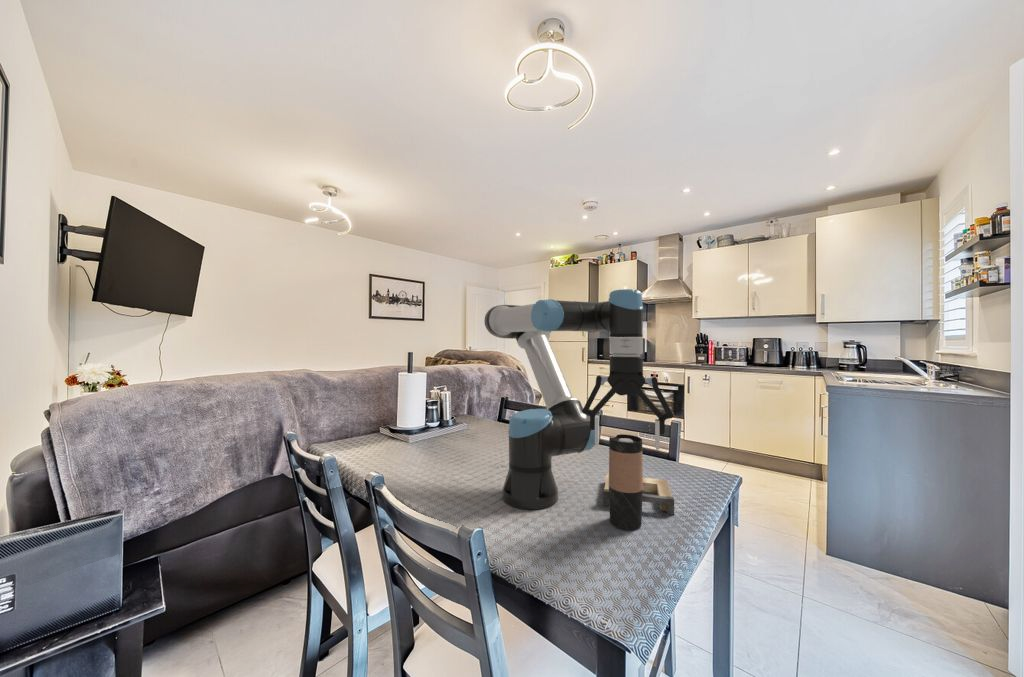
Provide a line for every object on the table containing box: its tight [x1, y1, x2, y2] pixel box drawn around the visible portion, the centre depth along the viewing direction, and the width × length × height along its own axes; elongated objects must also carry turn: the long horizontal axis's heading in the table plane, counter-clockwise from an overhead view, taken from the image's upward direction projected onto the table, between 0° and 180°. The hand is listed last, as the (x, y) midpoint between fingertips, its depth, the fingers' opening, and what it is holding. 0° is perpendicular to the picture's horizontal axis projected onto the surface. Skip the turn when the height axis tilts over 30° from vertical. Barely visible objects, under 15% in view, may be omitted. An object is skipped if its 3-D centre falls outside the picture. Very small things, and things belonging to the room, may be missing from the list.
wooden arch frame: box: [602, 473, 675, 516], centre depth 102 cm, size 17×17×4 cm
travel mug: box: [608, 434, 644, 532], centre depth 88 cm, size 8×8×20 cm
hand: (626, 445), depth 88 cm, fingers open, 13 cm apart
